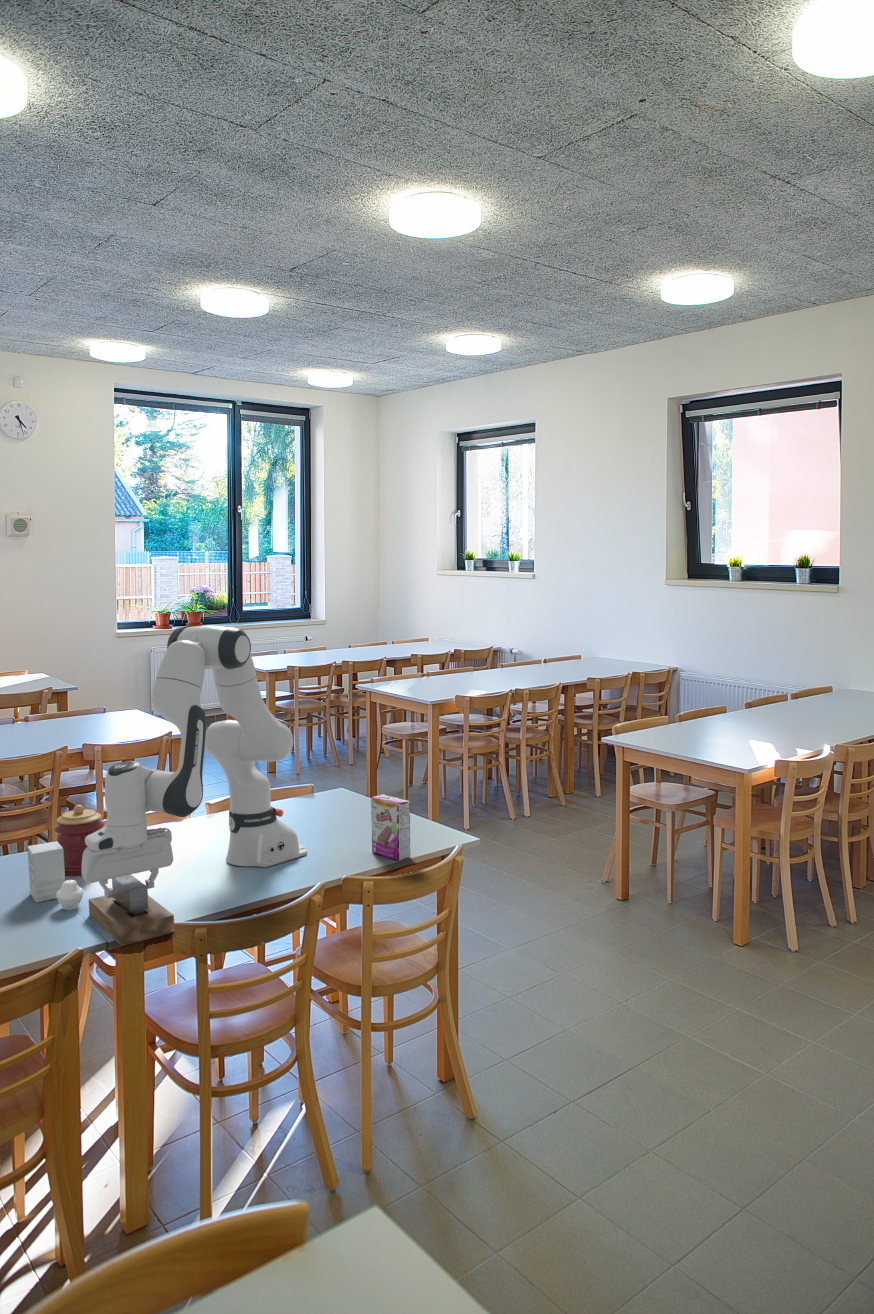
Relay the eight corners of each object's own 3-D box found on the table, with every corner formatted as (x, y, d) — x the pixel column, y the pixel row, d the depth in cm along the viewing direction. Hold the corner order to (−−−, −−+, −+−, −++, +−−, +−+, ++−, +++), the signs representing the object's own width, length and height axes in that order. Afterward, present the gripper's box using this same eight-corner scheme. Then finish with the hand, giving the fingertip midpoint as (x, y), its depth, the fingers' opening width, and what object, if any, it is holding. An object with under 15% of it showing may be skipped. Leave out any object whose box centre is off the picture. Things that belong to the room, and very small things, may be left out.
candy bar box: (370, 853, 263) (370, 797, 261) (383, 849, 267) (382, 793, 265) (398, 862, 256) (397, 803, 254) (411, 857, 259) (410, 800, 257)
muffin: (78, 901, 228) (76, 873, 227) (88, 908, 223) (87, 880, 223) (52, 908, 224) (51, 879, 223) (62, 914, 219) (61, 886, 218)
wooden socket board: (139, 904, 226) (138, 888, 225) (174, 932, 208) (173, 915, 208) (89, 915, 218) (88, 899, 218) (121, 946, 201) (120, 928, 201)
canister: (44, 873, 249) (41, 809, 247) (79, 858, 261) (76, 797, 259) (83, 879, 244) (79, 813, 242) (117, 863, 256) (114, 801, 254)
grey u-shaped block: (130, 913, 219) (128, 873, 218) (149, 929, 210) (147, 887, 209) (113, 918, 217) (111, 876, 216) (131, 934, 207) (129, 891, 206)
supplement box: (60, 888, 237) (58, 840, 235) (66, 897, 231) (63, 848, 229) (29, 894, 233) (26, 845, 231) (34, 903, 227) (31, 853, 225)
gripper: (166, 822, 220) (168, 878, 221) (77, 839, 208) (80, 898, 209) (176, 828, 215) (178, 886, 216) (86, 845, 203) (89, 906, 204)
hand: (129, 892), depth 213 cm, fingers open, 8 cm apart
